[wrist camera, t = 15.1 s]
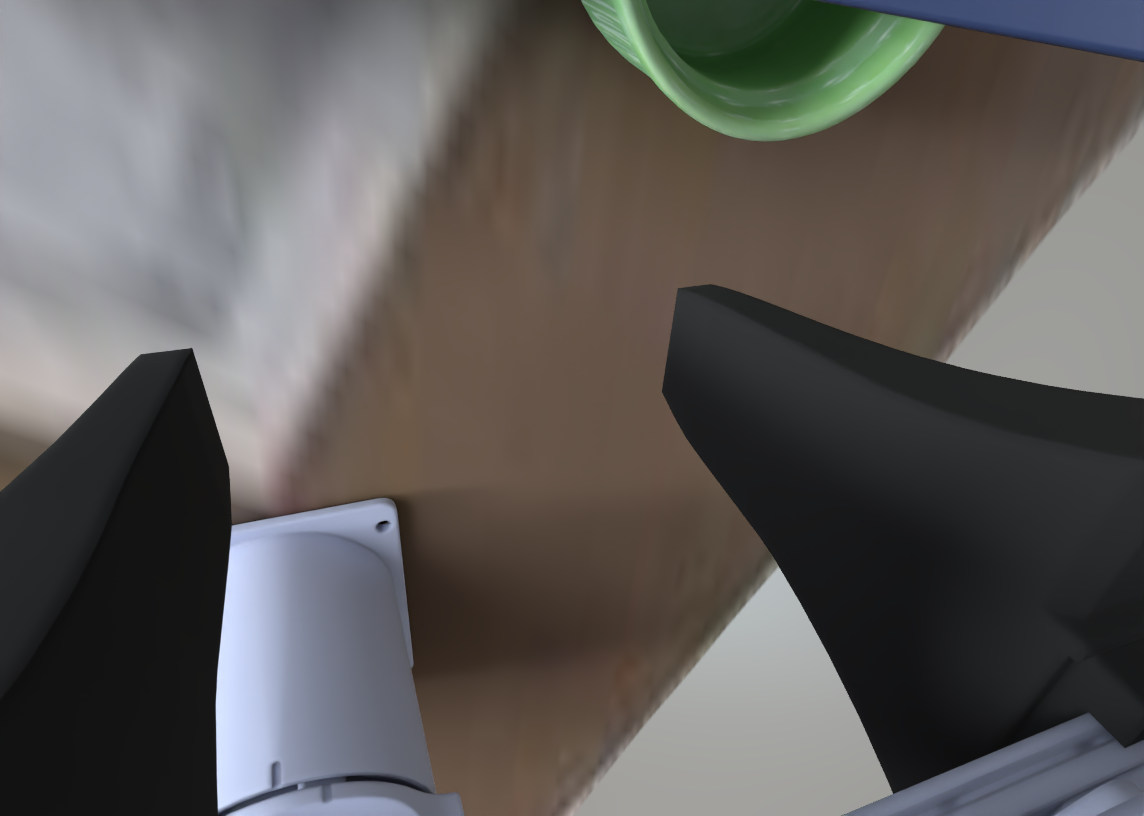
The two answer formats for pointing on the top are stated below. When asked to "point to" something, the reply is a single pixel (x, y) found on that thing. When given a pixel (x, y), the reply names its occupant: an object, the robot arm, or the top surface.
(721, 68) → the ramekin
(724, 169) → the top surface
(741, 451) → the robot arm
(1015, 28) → the cover
